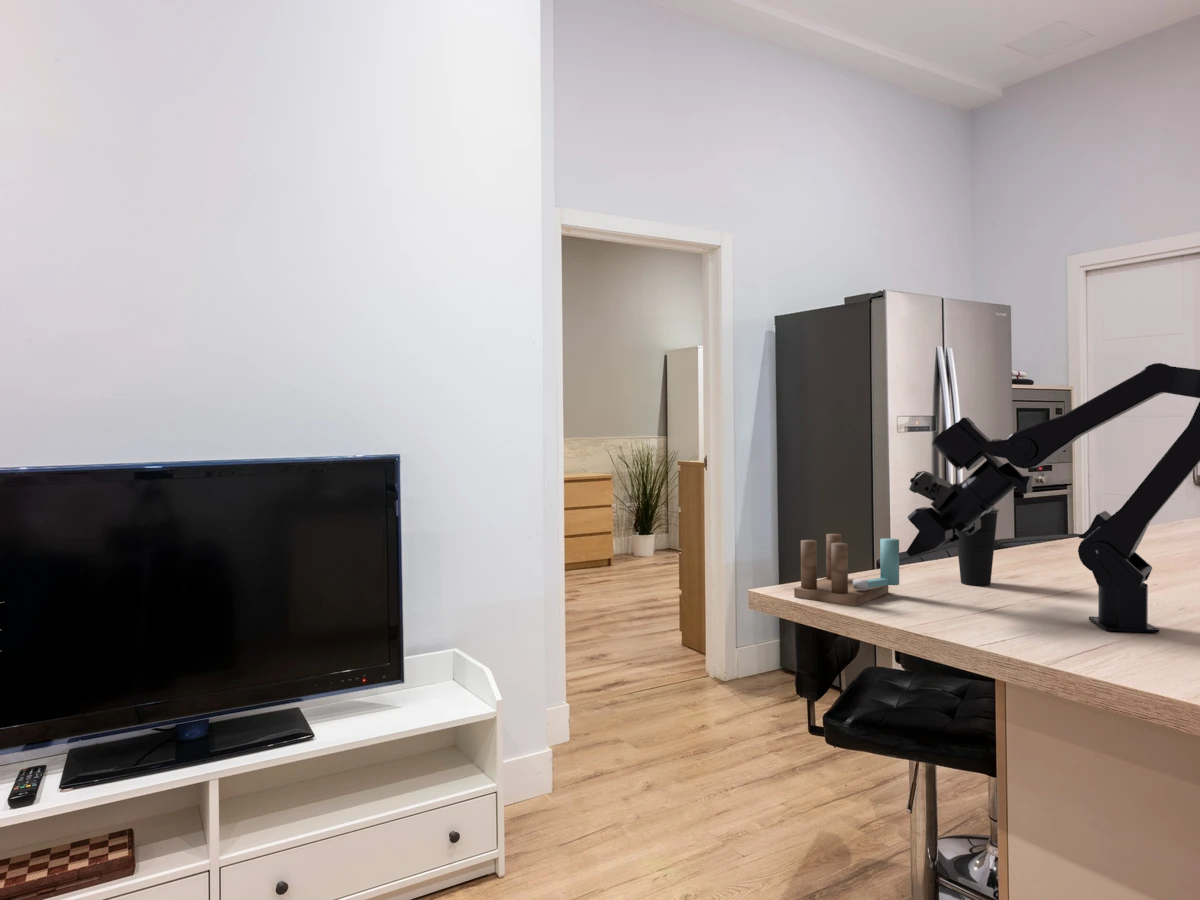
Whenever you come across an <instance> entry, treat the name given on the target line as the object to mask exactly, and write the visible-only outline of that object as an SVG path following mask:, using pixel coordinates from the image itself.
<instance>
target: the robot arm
mask: <svg viewBox="0 0 1200 900" xmlns="http://www.w3.org/2000/svg"><path fill="white" fill-rule="evenodd" d="M1163 394H1172V395H1177V396H1182V397H1183V396H1184V397H1189V398H1197V399H1200V369H1196V368H1189V367H1181V366H1179V367H1178V366H1173V365H1172V366H1171V365H1170V364H1167V363H1162V362H1158V363H1157V362H1156V363H1155V362H1154V363H1152V364H1149V365H1147V366H1146V367H1144V368H1143V369H1142V370H1141V371H1140V372H1138V373H1136V374H1134V375H1133V376H1131V377H1129V378H1127V379H1125V380H1124V381H1122V382H1120V383H1118V384H1116V385H1115V386H1113V387H1111V388H1109V389H1107V390H1106V391H1104V392H1102V393H1100V394H1099V395H1097V396H1095V397H1093V398H1091V399H1090V400H1087V401H1086V402H1083V403H1082V404H1081V405H1079V406H1076V407H1075V408H1074V409H1073V408H1072V410H1069V411H1068V412H1066V413H1064V414H1063V415H1060V416H1057V417H1055V418H1051V419H1049V420H1045V421H1042V422H1040V423H1036V424H1033V425H1031V426H1028V427H1025V428H1022V429H1020V430H1017V431H1015V432H1013V433H1011V434H1010V435H1009V436H1007V438H1006V439H1001V438H993V439H990V438H989V437H988V436H987V435H985V433H984V432H982V431H981V430H980V429H979V428H978V427H977V426H976V424H975V422H973V421H972V419H970V418H969V417H962V418H960V419H959V420H958V421H957V422H955V423H954V424H951V425H950V426H949V427H948V428H947V429H944V430H942V431H941V432H940V433H939V434H938V435H937V436H936V437H935V438H934V439H933V441H932V443H931V445H932V447H933V448H935V450H937V452H938V453H940V455H941V456H943V458H945V459H946V460H947V461H948V462H949V463H950V464H951V465H952V466H953V467H954V468H955V469H956V470H957V471H960V470H962V469H965V470H966V471H967V472H969V471H971V470H972V469H975V468H976V467H977V466H978V465H979V466H978V467H977V468H976V469H975V470H974V471H973V472H972V473H971V474H970V475H968V477H966V478H965V479H964V480H963V481H962V482H959V483H958V482H957V483H953V484H952V483H951V482H950V481H947V479H944V478H942V477H939V476H937V475H935V474H933V473H931V472H928V471H925V470H922V471H917V472H916V473H915V475H914V476H913V477H911V478H910V479H909V480H910V485H909V488H908V490H909V491H910V492H912V493H914V494H918V495H921V496H923V498H927V499H929V500H930V501H932V502H931V503H930V505H931V506H932V507H928V506H927V507H926V506H923V507H918V508H915V509H914V510H913V511H912V512H910V514H909V515H908V516H907V519H908V521H909V522H910V523H911V524H912V525H913V526H914V527H915V528H916V529H917V530H918V532H917V534H916V536H915V537H914V539H913V541H912V542H911V543H910V545H909V547H908V549H907V550H906V554H907V555H908V556H909V557H910V558H912V557H914V556H917V555H919V554H923V553H927V552H929V551H932V550H934V549H938V548H940V547H943V546H946V545H949V544H952V543H955V542H957V541H958V540H959V537H958V536H957V535H956V529H957V530H958V531H959V532H962V531H965V530H968V531H967V532H966V533H965V534H966V535H967V536H970V535H972V534H974V533H975V532H976V531H977V530H978V529H980V528H981V519H980V517H981V516H983V515H984V514H986V513H989V512H990V511H991V510H992V509H994V508H993V507H995V506H996V505H997V504H998V503H999V502H1000V501H1001V500H1003V499H1004V498H1005V497H1006V496H1007V495H1009V494H1010V493H1011V492H1012V491H1014V490H1015V488H1016V489H1017V490H1018V491H1019V492H1020V493H1021V494H1023V495H1026V494H1031V493H1032V492H1033V491H1034V490H1033V483H1032V481H1033V478H1034V477H1033V475H1024V474H1022V473H1021V472H1020V471H1019V470H1018V468H1020V469H1025V470H1027V469H1033V468H1039V467H1042V466H1045V465H1047V464H1048V463H1049V462H1051V461H1052V460H1053V459H1055V458H1056V457H1057V456H1059V455H1060V454H1062V453H1063V452H1064V451H1065V450H1066V449H1067V448H1069V447H1070V446H1071V445H1072V444H1073V443H1075V442H1076V441H1077V440H1078V439H1080V438H1081V437H1083V436H1084V435H1086V434H1088V433H1089V432H1092V431H1093V430H1095V429H1097V428H1099V427H1101V426H1103V425H1106V424H1107V423H1108V422H1110V421H1113V420H1114V419H1116V418H1118V417H1121V416H1122V415H1124V414H1126V413H1127V412H1128V413H1129V411H1131V410H1133V409H1135V408H1137V407H1139V406H1141V405H1143V404H1144V403H1147V402H1148V401H1151V400H1152V399H1154V398H1155V397H1158V396H1160V395H1163ZM998 458H1002V459H1006V460H1007V461H1008V462H1006V463H1003V462H1002V461H1001V460H999V459H998ZM984 460H985V461H984ZM983 461H984V462H983ZM982 462H983V463H982ZM980 463H982V464H981V465H980ZM1199 464H1200V401H1199V402H1198V404H1197V406H1196V408H1195V410H1194V413H1193V415H1192V417H1191V419H1190V421H1189V423H1188V425H1187V426H1186V428H1185V429H1184V430H1183V432H1182V433H1181V434H1180V435H1179V436H1178V438H1177V439H1176V440H1175V441H1174V443H1173V444H1172V445H1171V446H1170V447H1169V448H1168V450H1167V451H1166V452H1165V453H1164V455H1163V456H1162V457H1161V458H1160V459H1159V461H1158V462H1157V463H1156V464H1155V466H1154V467H1153V469H1151V471H1150V472H1149V473H1148V475H1147V476H1146V477H1145V478H1144V479H1143V481H1142V482H1141V483H1140V484H1139V486H1138V487H1137V488H1136V489H1135V491H1133V492H1132V494H1131V495H1130V497H1129V498H1128V499H1127V500H1126V502H1124V504H1123V505H1122V507H1120V508H1119V509H1118V510H1117V511H1116V512H1115V513H1114V514H1112V515H1111V514H1110V513H1109V512H1107V510H1103V511H1102V512H1099V513H1097V514H1096V515H1095V517H1094V518H1093V520H1092V522H1091V524H1090V526H1089V528H1088V529H1086V531H1085V532H1084V533H1081V534H1080V535H1078V538H1079V539H1083V540H1082V541H1080V542H1079V543H1080V544H1079V546H1078V548H1077V554H1078V558H1079V561H1080V563H1081V564H1082V565H1083V566H1084V567H1086V569H1088V570H1089V571H1091V572H1092V574H1093V577H1094V579H1095V582H1096V585H1097V586H1098V590H1097V591H1098V594H1097V595H1098V609H1097V610H1098V616H1092V615H1091V616H1088V621H1090V622H1091V623H1093V624H1095V625H1097V626H1098V627H1100V628H1102V629H1103V630H1105V631H1108V632H1131V633H1132V632H1134V633H1155V634H1157V633H1159V632H1160V629H1159V628H1157V627H1156V626H1154V625H1153V624H1151V623H1148V619H1149V618H1148V617H1149V616H1148V615H1149V612H1148V611H1149V609H1148V606H1149V604H1148V603H1149V602H1148V601H1149V594H1148V593H1149V592H1148V590H1149V588H1148V587H1149V584H1147V583H1145V582H1146V581H1148V579H1149V576H1150V575H1151V573H1152V570H1153V567H1152V566H1151V564H1149V563H1148V562H1147V561H1146V559H1144V558H1142V557H1141V556H1140V554H1138V553H1137V552H1136V551H1137V549H1138V548H1139V545H1140V544H1141V541H1142V540H1143V537H1144V535H1145V533H1146V532H1147V529H1148V528H1149V526H1150V523H1151V522H1152V520H1153V519H1154V518H1155V517H1156V516H1157V514H1158V513H1159V511H1161V509H1162V508H1163V507H1164V506H1165V504H1166V503H1167V502H1168V501H1169V500H1170V498H1171V497H1172V496H1173V495H1174V494H1175V493H1176V491H1177V490H1178V489H1179V488H1180V487H1181V485H1182V484H1183V483H1184V482H1185V481H1186V480H1187V478H1188V477H1189V476H1190V475H1191V473H1192V472H1193V471H1194V470H1195V468H1196V467H1197V466H1198V465H1199ZM936 510H937V511H936Z"/></svg>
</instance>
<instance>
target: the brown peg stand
mask: <svg viewBox="0 0 1200 900" xmlns="http://www.w3.org/2000/svg"><path fill="white" fill-rule="evenodd" d="M825 536H826V538H825V541H826V542H825V545H826V547H825V548H826V553H825V554H826V557H825V558H826V565H825V566H826V568H825V569H826V570H825V571H826V577H824V578H820V579H818V566H817V565H818V559H817V558H818V557H817V555H818V552H817V550H818V549H817V548H818V546H817V540H815V539H801V540H800V585H799V586H796V587H794V588H793V590H794V591H793V595H794V596H793V597H794V598H799V599H806V600H812V601H819V602H823V603H825V602H826V603H832V604H837V605H838V604H839V605H846V606H851V607H857V606H859V605H862V604H865V603H867V602H869V601H871V600H874V599H877V598H878V597H880V596H883V595H885V594H887V593H889V585H885V586H879V587H872V588H868V589H865V590H859V589H854V588H853V580H856V579H854V578H849V564H848V563H849V557H848V556H849V555H848V553H849V552H848V551H849V547H848V546H849V544H848V543H846V542H842V534H840V533H826V534H825Z"/></svg>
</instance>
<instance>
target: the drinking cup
mask: <svg viewBox="0 0 1200 900" xmlns="http://www.w3.org/2000/svg"><path fill="white" fill-rule="evenodd" d="M993 508H994V509H992V510H991V511H990V512H989V513H986V514H984V515H983V516H981V517H980V519H981V528H980V529H978V530H977V531H976V532H975V533H974V534H972V535H970V536H967V535H966V534H965V533H966V532H967V531H968V530H965V531H962V532H959V531H958V530H957V529H956V530H955V531H956V533H955V534H956V535H957V536H958V537H959V540H958V541H956V545H957V546H956V548H957V555H958V565H959V567H958V568H959V575H960V576H959V577H960V583H961V584H964V585H967V586H975V587H976V586H977V587H987V586H991V582H992V575H993V574H992V572H993V564H994V563H993V560H994V553H995V544H996V543H995V542H996V541H995V540H996V531H997V524H998V523H997V522H998V513H999V512H1000V508H996V507H995V506H993Z"/></svg>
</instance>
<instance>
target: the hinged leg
mask: <svg viewBox="0 0 1200 900" xmlns="http://www.w3.org/2000/svg"><path fill="white" fill-rule="evenodd" d="M879 541H880V542H879V543H880V546H879V548H880V549H879V552H880V553H879V554H880V559H879V560H880V561H879V563H880V572H879V574H880V576H879V577H878V578H872V579H855V580H853V588H854V589H859V590H865V589H868V588H872V587H879V586H885V585H888V586H899V585H900V539H898V538H889V537H886V538H880V539H879Z"/></svg>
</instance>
